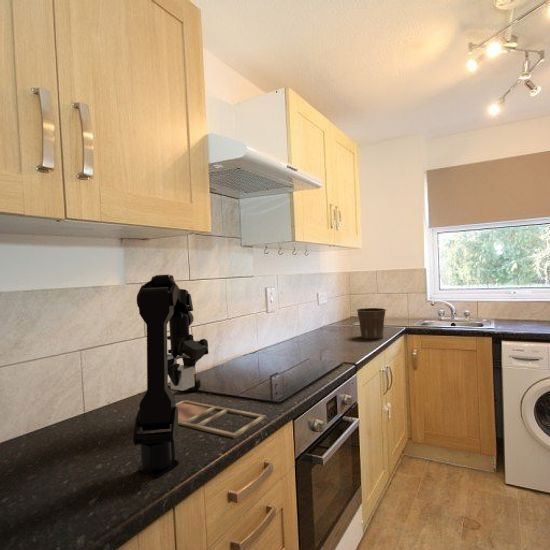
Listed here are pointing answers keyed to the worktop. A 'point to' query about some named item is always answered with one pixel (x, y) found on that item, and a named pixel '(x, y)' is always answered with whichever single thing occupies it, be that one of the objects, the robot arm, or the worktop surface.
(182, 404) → the rectangular frame with crossbars
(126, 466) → the worktop surface
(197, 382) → the tape measure
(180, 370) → the metal block
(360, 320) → the plant pot
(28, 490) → the worktop surface
